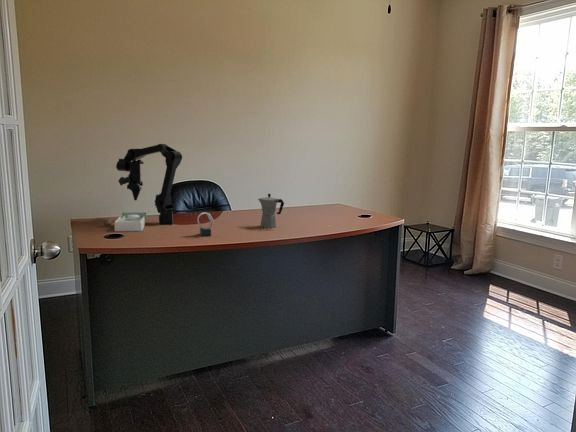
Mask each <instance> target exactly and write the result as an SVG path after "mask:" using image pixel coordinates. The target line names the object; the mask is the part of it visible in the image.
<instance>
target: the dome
mask: <svg viewBox="0 0 576 432" xmlns="http://www.w3.org/2000/svg"><path fill="white" fill-rule="evenodd" d="M139 219H140V216H139V215H128V220H139Z"/></svg>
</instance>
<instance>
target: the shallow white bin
mask: <svg viewBox="0 0 576 432" xmlns="http://www.w3.org/2000/svg"><path fill="white" fill-rule="evenodd" d="M121 219H122V216H119V217H118V218H117V219H116V220H115V221H114V232H142V231H143V229H144V227H145V225H146V220H145V217H143V218H142V220H141V221H140V222H120V220H121Z"/></svg>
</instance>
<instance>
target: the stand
mask: <svg viewBox="0 0 576 432" xmlns="http://www.w3.org/2000/svg"><path fill="white" fill-rule="evenodd" d="M102 227H103V228H110V227H112V219H110V218H103V219H102Z"/></svg>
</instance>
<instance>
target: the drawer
mask: <svg viewBox="0 0 576 432" xmlns="http://www.w3.org/2000/svg"><path fill="white" fill-rule="evenodd" d="M121 215H122V216H121V220H120V222H140V221H141V220H142V218H143V217H145V221H146V220H147V218H148V217H147V211H145V212H144V211H140V212H139V211H137V212H136V211H127V212H126V211H123V212H121ZM128 215H139V216H140V219H139V220H128Z"/></svg>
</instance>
